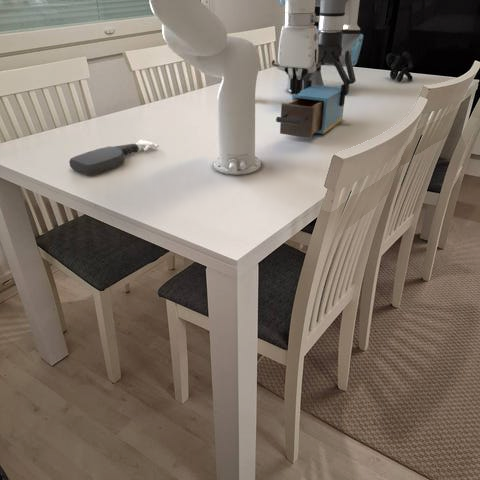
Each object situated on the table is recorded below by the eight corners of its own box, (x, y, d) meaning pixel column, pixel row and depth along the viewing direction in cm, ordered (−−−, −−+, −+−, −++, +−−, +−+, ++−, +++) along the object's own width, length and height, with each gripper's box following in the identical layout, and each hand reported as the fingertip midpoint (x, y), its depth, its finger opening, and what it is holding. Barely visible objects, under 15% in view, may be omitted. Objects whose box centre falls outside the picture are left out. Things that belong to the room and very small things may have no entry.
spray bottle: (67, 168, 120) (139, 144, 136) (91, 178, 114) (163, 151, 130) (65, 157, 118) (137, 134, 134) (89, 167, 112) (162, 142, 128)
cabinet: (323, 133, 138) (327, 98, 133) (290, 128, 142) (292, 94, 137) (342, 120, 152) (345, 88, 147) (311, 116, 157) (314, 84, 151)
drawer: (303, 144, 126) (305, 112, 121) (271, 138, 130) (272, 108, 125) (330, 124, 144) (333, 96, 139) (301, 120, 148) (303, 93, 143)
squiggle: (400, 92, 202) (376, 71, 205) (417, 76, 202) (392, 56, 205) (405, 81, 191) (380, 59, 194) (423, 64, 191) (397, 42, 194)
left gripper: (332, 19, 114) (325, 92, 124) (278, 17, 121) (277, 87, 130) (321, 23, 109) (316, 99, 119) (266, 20, 115) (265, 93, 125)
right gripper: (372, 31, 135) (362, 104, 146) (299, 27, 145) (296, 96, 156) (365, 34, 129) (356, 110, 141) (290, 30, 139) (287, 101, 151)
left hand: (295, 93), depth 124 cm, fingers closed
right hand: (324, 103), depth 149 cm, fingers closed on cabinet, 11 cm apart
